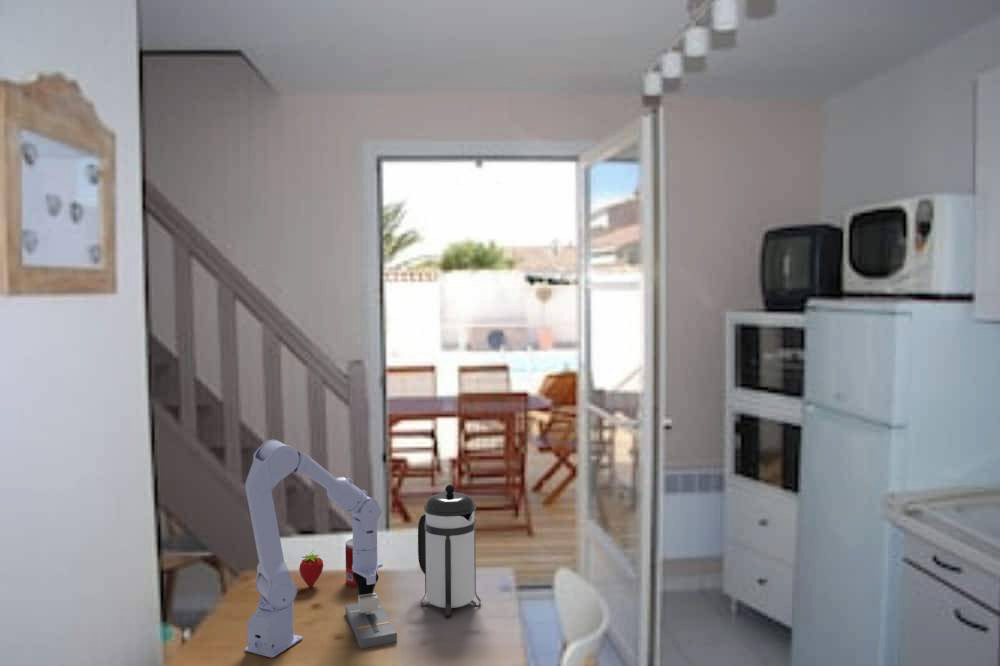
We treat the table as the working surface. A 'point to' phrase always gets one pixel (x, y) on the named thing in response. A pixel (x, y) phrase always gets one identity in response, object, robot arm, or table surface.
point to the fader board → (371, 626)
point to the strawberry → (311, 569)
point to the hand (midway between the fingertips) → (365, 603)
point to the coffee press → (448, 550)
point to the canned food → (349, 563)
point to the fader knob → (367, 603)
